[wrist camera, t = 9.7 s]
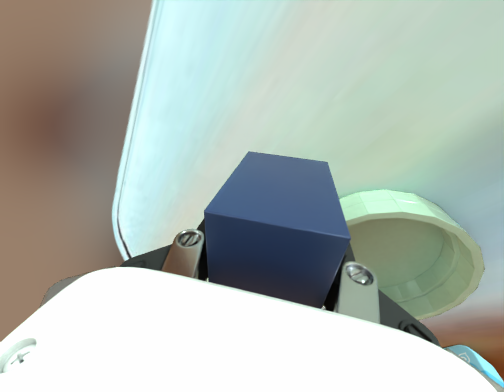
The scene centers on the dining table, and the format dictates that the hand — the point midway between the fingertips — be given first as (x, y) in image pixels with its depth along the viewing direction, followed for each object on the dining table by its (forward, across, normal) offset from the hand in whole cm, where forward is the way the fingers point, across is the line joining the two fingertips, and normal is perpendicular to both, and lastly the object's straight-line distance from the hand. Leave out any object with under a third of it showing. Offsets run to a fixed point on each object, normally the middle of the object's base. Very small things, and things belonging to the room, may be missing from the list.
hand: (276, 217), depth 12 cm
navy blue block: (+1, 0, 0) cm, 1 cm away
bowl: (+11, -12, +10) cm, 19 cm away
